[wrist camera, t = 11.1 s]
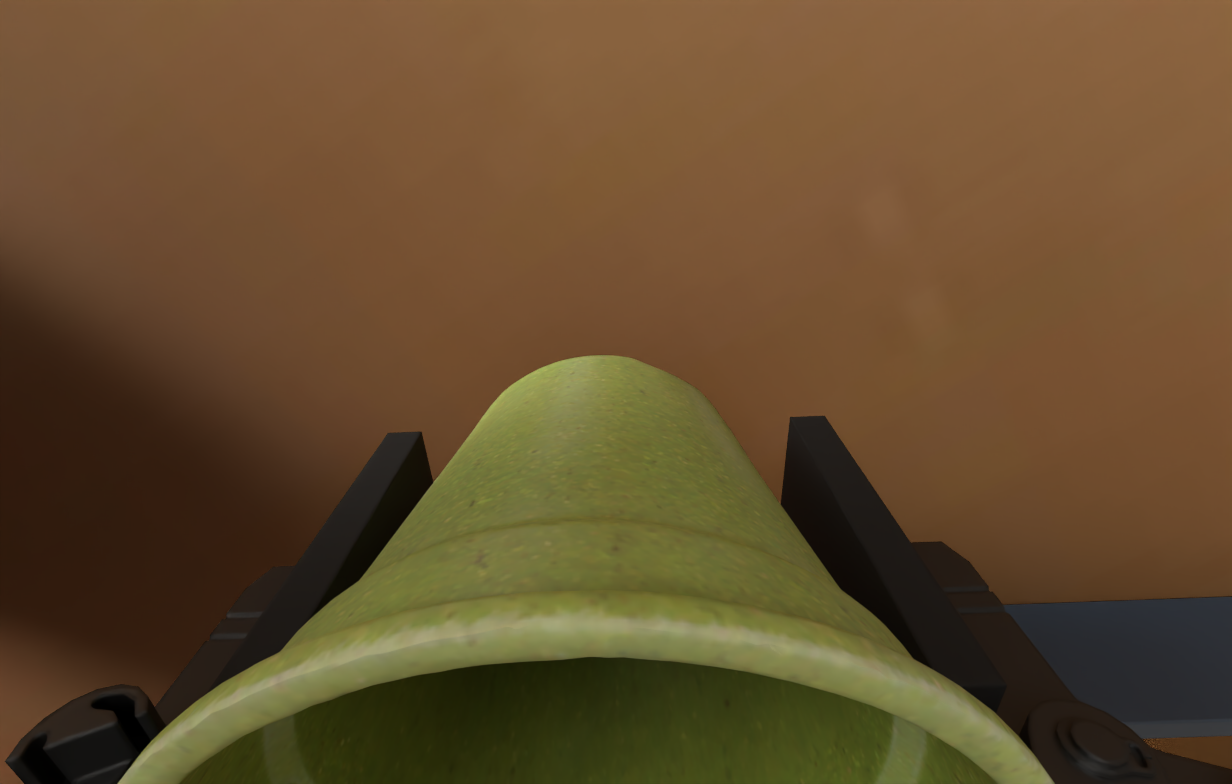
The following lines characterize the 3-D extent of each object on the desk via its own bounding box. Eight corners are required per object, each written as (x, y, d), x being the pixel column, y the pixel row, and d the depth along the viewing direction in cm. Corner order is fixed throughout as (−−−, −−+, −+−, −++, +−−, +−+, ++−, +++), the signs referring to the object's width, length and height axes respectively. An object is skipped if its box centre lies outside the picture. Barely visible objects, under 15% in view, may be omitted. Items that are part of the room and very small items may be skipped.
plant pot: (750, 201, 11) (1106, 454, 3) (840, 558, 15) (1093, 1066, 7) (323, 360, 12) (-195, 810, 4) (511, 646, 16) (414, 1147, 8)
